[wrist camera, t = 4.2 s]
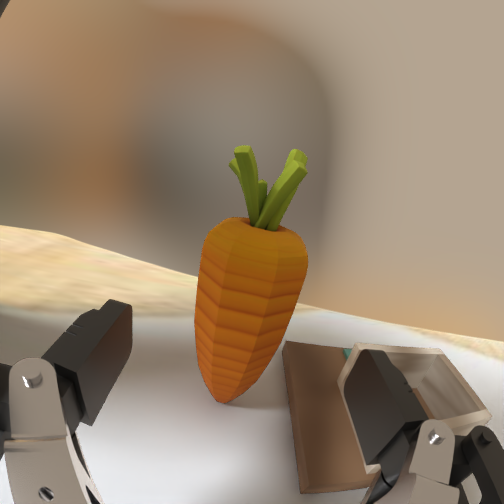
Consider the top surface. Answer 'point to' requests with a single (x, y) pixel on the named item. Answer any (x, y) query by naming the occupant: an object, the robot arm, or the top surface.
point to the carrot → (249, 280)
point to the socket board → (338, 416)
